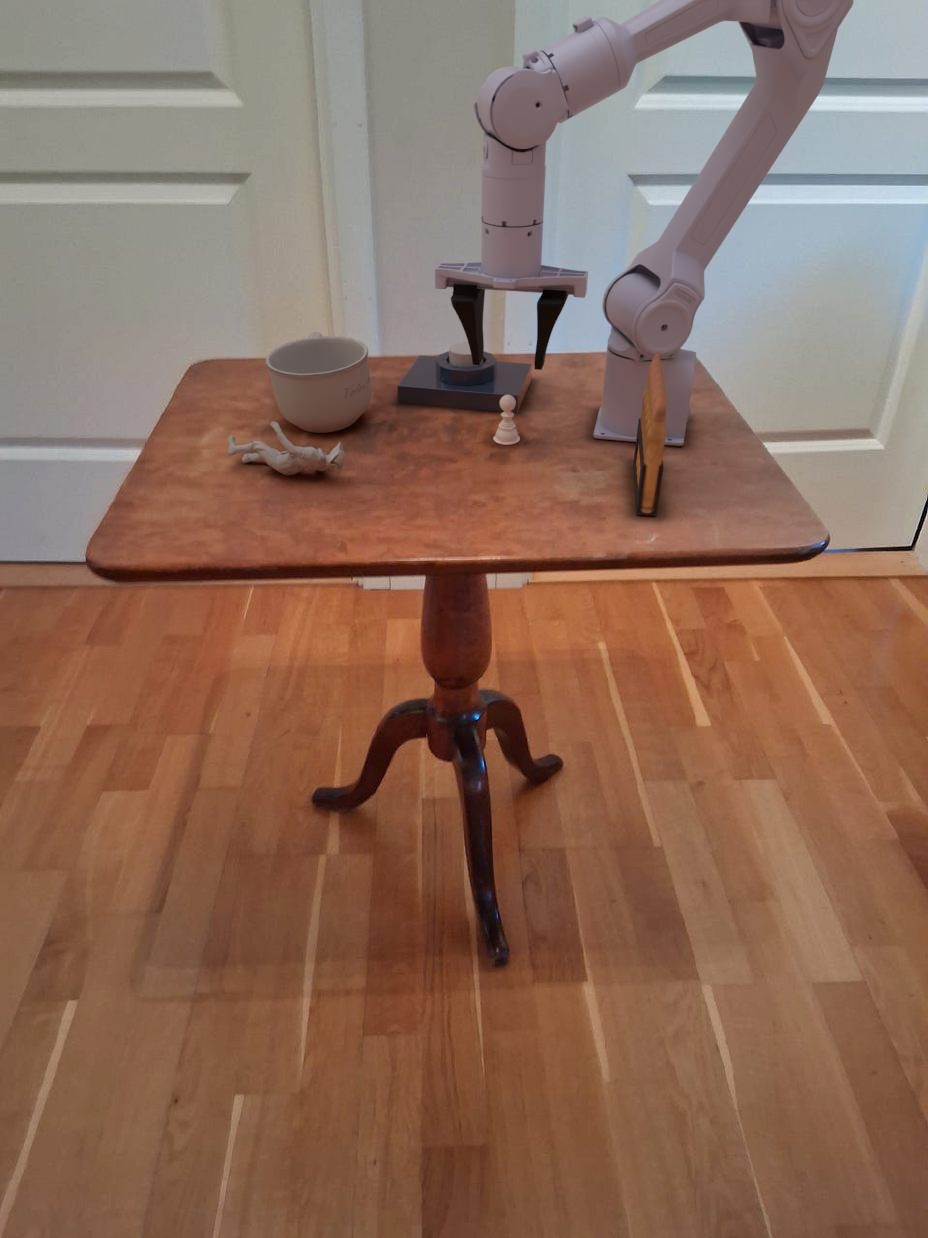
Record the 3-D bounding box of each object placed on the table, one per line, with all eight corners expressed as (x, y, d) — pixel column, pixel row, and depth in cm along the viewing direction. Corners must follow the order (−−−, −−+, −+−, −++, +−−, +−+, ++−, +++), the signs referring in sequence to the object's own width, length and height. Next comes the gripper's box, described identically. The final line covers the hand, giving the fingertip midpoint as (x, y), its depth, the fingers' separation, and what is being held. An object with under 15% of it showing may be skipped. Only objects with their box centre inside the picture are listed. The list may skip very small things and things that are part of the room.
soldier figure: (264, 456, 95) (363, 435, 90) (263, 499, 94) (362, 481, 89) (216, 428, 88) (320, 404, 83) (214, 474, 87) (319, 453, 82)
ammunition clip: (656, 517, 82) (674, 392, 75) (636, 516, 82) (652, 391, 75) (651, 464, 91) (667, 348, 84) (633, 463, 91) (647, 347, 84)
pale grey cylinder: (486, 357, 105) (486, 343, 104) (479, 370, 102) (479, 355, 101) (453, 355, 106) (453, 340, 105) (445, 367, 103) (445, 352, 102)
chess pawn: (490, 444, 95) (491, 399, 92) (496, 433, 97) (497, 389, 94) (517, 447, 94) (518, 402, 91) (521, 435, 96) (523, 391, 93)
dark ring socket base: (531, 381, 109) (532, 348, 107) (517, 414, 101) (518, 379, 99) (419, 372, 111) (418, 340, 109) (398, 403, 103) (396, 370, 101)
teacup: (367, 443, 95) (362, 370, 90) (265, 442, 95) (255, 369, 91) (380, 392, 106) (375, 324, 102) (289, 391, 106) (280, 324, 102)
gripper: (425, 226, 81) (429, 372, 89) (586, 234, 78) (575, 383, 86) (443, 209, 86) (445, 348, 94) (594, 216, 84) (583, 358, 92)
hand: (508, 363), depth 91 cm, fingers open, 6 cm apart
